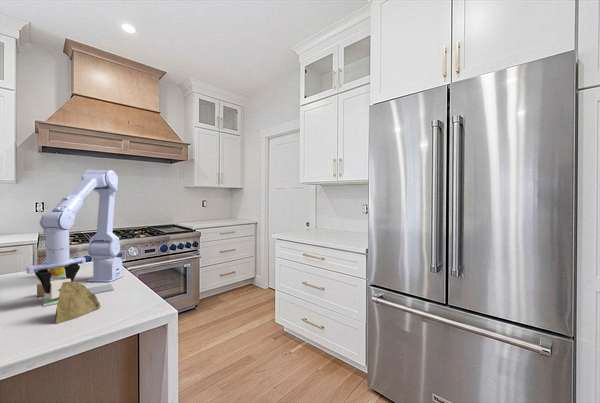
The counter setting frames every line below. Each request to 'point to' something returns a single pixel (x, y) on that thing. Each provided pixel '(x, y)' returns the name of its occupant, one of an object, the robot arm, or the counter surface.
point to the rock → (74, 302)
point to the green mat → (50, 301)
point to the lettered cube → (56, 287)
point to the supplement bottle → (57, 272)
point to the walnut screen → (40, 291)
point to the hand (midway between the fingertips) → (58, 290)
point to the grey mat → (100, 289)
